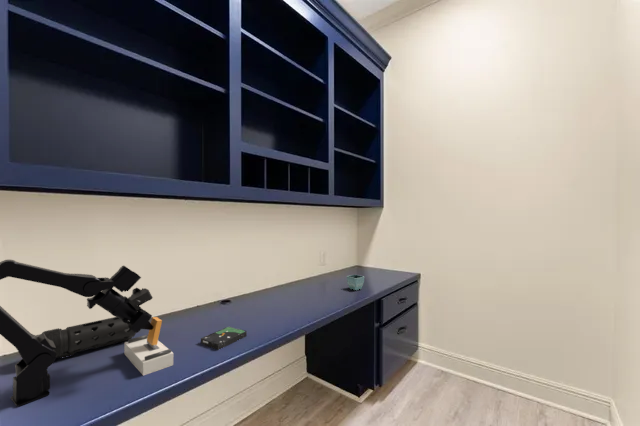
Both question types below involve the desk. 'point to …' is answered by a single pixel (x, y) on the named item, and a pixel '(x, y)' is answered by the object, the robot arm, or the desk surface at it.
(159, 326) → the lever
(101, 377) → the desk surface
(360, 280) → the flower pot
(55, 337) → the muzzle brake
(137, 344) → the block
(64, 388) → the desk surface
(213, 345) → the disk drive
